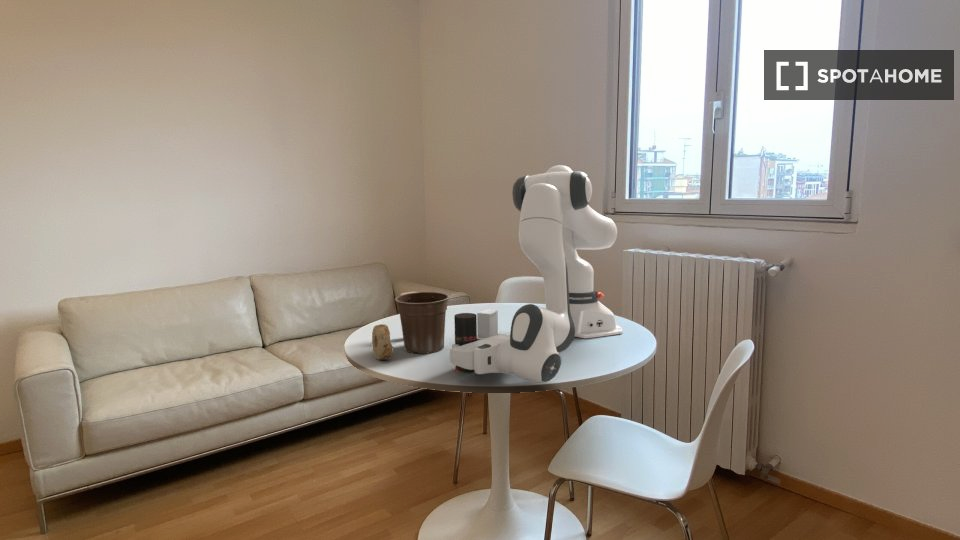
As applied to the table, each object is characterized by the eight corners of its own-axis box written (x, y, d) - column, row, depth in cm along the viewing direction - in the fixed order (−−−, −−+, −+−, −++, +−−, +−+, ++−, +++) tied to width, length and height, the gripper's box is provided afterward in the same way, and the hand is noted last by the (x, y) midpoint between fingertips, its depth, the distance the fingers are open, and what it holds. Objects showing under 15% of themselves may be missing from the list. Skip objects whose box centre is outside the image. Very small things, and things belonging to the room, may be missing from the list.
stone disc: (370, 355, 161) (368, 322, 159) (382, 353, 163) (380, 320, 161) (381, 364, 152) (380, 330, 150) (394, 362, 154) (392, 328, 152)
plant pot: (413, 360, 156) (411, 305, 153) (387, 347, 169) (385, 296, 166) (460, 349, 165) (459, 297, 163) (432, 337, 178) (431, 289, 176)
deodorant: (480, 371, 145) (479, 316, 143) (459, 374, 143) (458, 319, 141) (472, 364, 151) (471, 312, 149) (452, 367, 149) (451, 314, 146)
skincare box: (489, 353, 161) (489, 314, 159) (477, 351, 163) (476, 312, 161) (498, 348, 166) (498, 309, 164) (486, 346, 168) (485, 308, 166)
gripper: (527, 333, 144) (489, 324, 154) (473, 351, 130) (435, 340, 139) (527, 356, 145) (490, 346, 155) (474, 376, 130) (436, 363, 140)
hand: (463, 343), depth 147 cm, fingers closed on deodorant, 6 cm apart
